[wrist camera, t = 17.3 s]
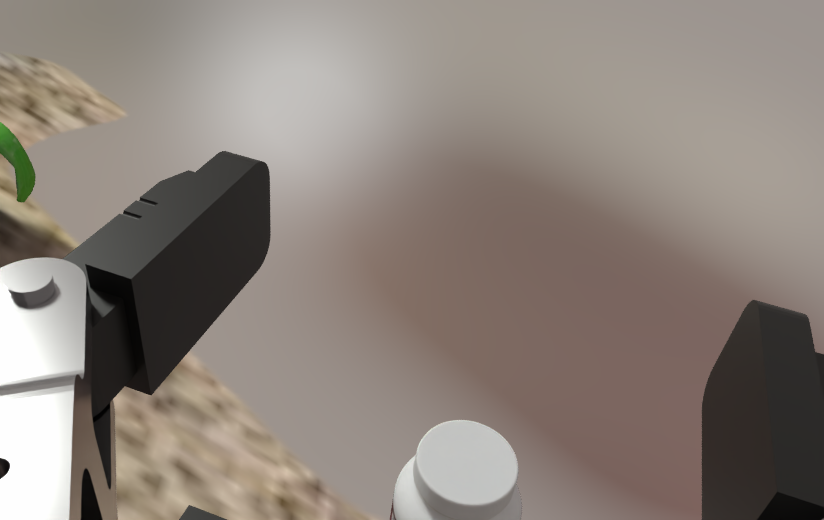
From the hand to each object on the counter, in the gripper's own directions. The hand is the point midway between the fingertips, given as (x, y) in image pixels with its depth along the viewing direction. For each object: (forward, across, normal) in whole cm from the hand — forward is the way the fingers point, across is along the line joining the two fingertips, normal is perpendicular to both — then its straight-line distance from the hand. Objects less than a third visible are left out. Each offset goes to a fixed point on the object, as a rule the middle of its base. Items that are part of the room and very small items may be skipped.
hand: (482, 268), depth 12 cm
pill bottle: (+11, 0, +30) cm, 32 cm away
